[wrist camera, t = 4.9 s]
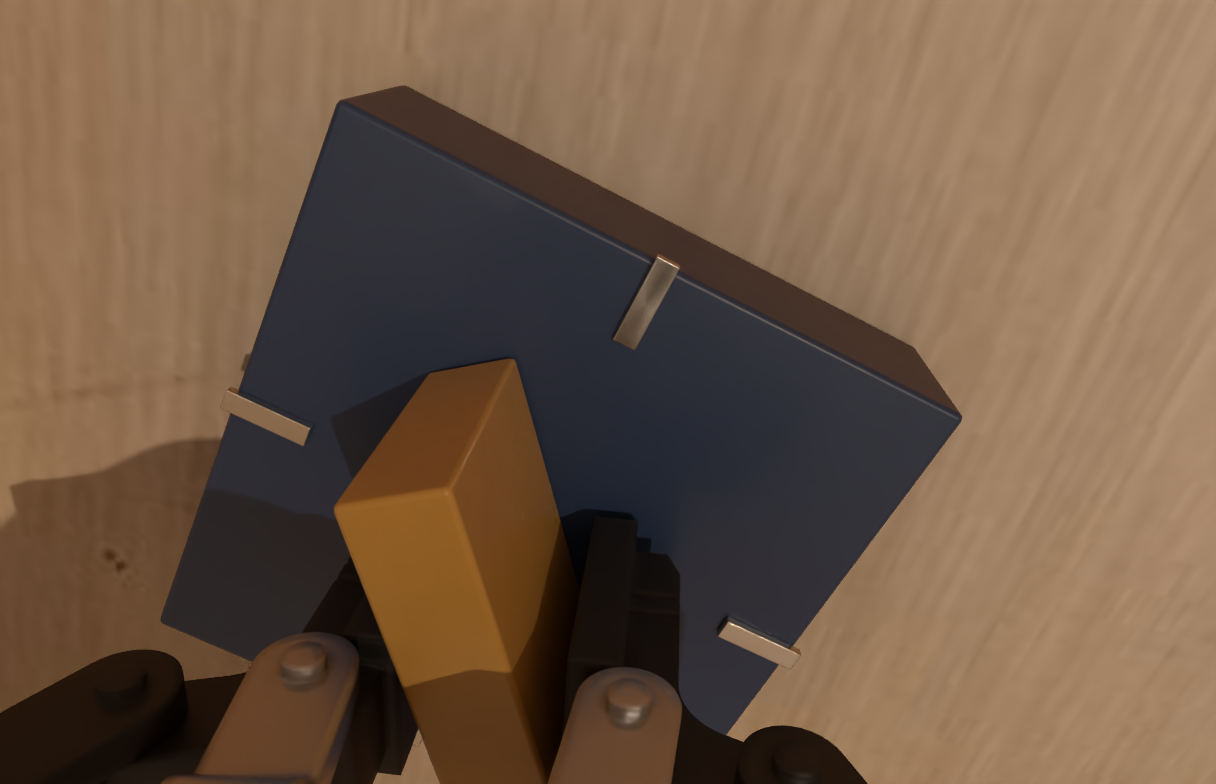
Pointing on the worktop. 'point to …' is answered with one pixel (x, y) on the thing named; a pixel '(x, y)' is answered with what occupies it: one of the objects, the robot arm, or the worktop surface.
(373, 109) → the plate
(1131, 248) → the worktop surface
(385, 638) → the orange wooden bar
